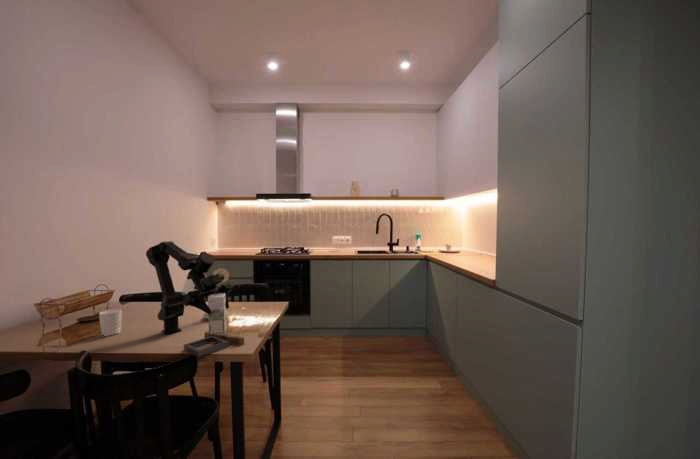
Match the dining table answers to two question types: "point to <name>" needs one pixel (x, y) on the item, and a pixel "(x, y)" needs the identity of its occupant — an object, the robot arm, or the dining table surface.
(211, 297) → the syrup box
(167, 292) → the robot arm
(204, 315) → the flower in vase
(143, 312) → the dining table surface
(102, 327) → the white cup
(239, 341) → the walnut rail
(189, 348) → the keeper frame
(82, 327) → the dining table surface
